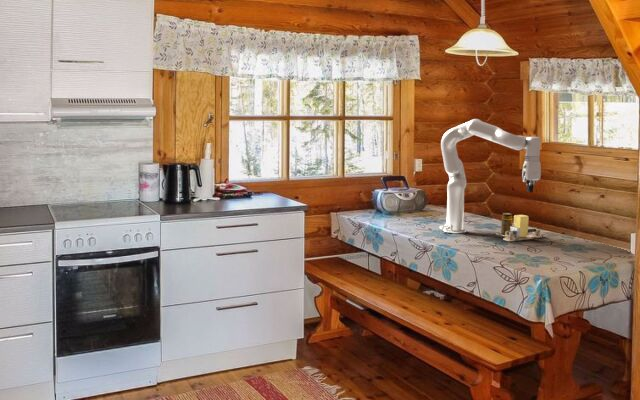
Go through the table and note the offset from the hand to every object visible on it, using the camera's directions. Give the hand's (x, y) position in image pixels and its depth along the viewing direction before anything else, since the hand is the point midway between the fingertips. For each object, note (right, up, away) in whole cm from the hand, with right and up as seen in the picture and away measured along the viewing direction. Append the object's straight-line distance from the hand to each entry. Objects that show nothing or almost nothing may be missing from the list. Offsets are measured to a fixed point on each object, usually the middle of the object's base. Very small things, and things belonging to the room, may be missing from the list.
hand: (529, 192), depth 387 cm
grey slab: (-9, -26, -4) cm, 28 cm away
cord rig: (-4, -26, -1) cm, 26 cm away
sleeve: (-6, -24, -2) cm, 25 cm away
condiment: (-11, -24, +10) cm, 29 cm away
